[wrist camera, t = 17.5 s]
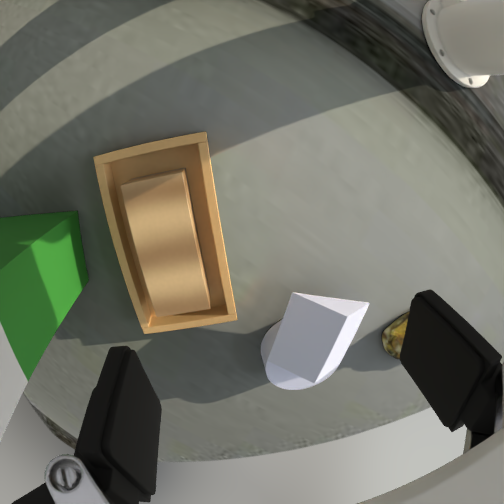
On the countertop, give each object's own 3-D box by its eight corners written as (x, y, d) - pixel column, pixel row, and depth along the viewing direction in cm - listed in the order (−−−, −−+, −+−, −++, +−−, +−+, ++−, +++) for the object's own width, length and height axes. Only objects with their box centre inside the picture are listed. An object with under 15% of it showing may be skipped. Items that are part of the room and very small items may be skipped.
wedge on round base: (283, 276, 31) (252, 368, 35) (302, 311, 25) (261, 409, 29) (356, 287, 33) (317, 372, 37) (384, 320, 27) (333, 409, 31)
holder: (103, 154, 24) (93, 156, 21) (206, 131, 24) (206, 131, 22) (147, 320, 31) (144, 334, 28) (235, 306, 31) (237, 320, 29)
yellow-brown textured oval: (457, 300, 39) (388, 303, 36) (476, 312, 34) (408, 319, 31) (438, 351, 41) (369, 363, 38) (455, 365, 36) (385, 382, 33)
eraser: (131, 178, 24) (120, 185, 21) (185, 167, 25) (182, 172, 22) (161, 297, 29) (156, 317, 26) (209, 289, 29) (210, 308, 26)
